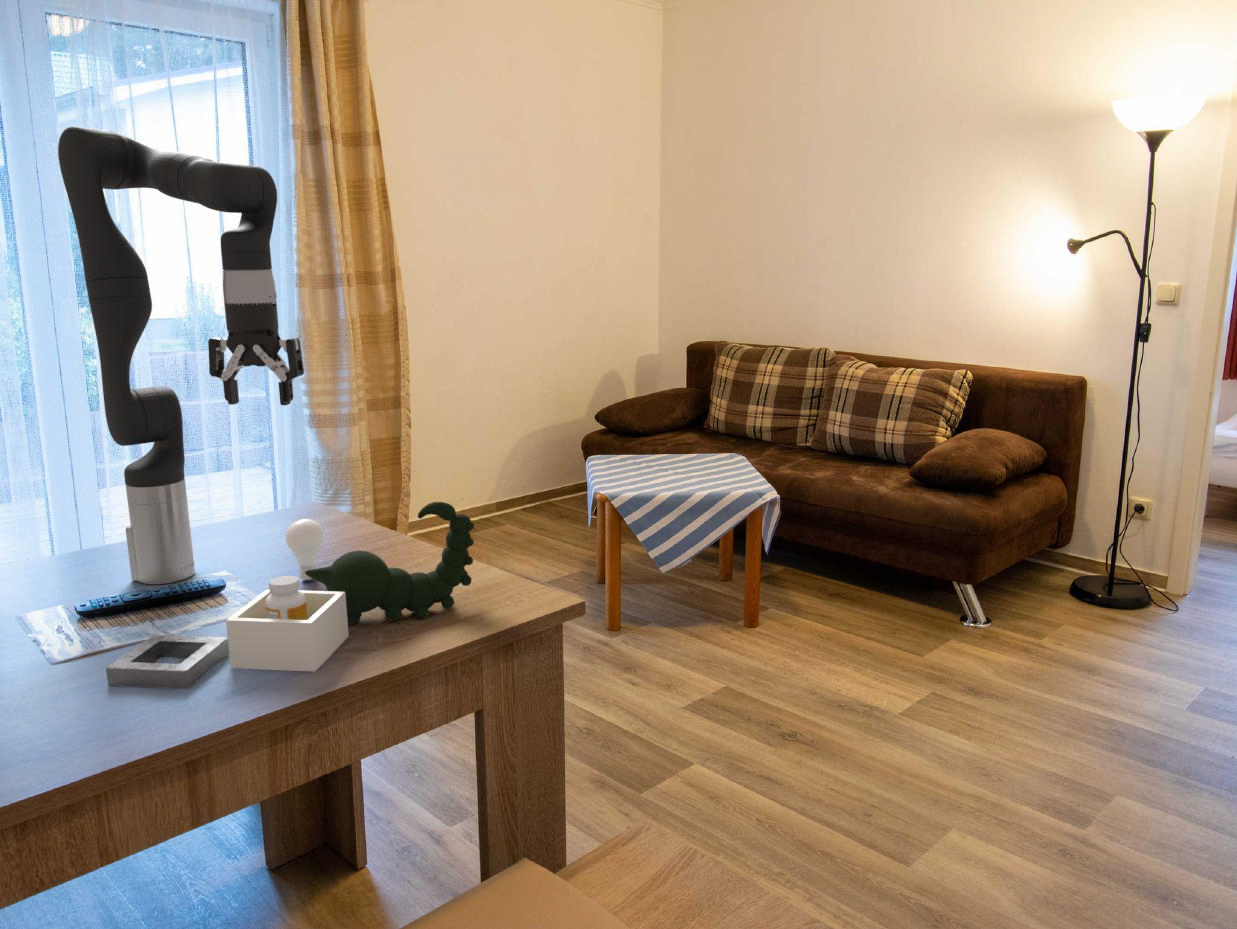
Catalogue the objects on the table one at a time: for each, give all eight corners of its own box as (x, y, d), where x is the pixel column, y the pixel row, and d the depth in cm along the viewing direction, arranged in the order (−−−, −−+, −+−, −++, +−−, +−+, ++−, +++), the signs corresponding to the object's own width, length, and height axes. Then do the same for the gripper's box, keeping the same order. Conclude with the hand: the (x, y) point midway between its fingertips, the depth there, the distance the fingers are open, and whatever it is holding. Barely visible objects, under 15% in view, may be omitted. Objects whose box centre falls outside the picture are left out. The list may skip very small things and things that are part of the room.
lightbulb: (333, 574, 167) (329, 514, 165) (319, 587, 161) (314, 525, 158) (299, 573, 168) (294, 513, 165) (283, 586, 161) (277, 524, 159)
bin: (230, 668, 130) (225, 620, 128) (270, 633, 141) (266, 589, 140) (315, 671, 129) (311, 623, 127) (348, 636, 140) (345, 591, 139)
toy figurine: (461, 606, 157) (302, 614, 148) (467, 494, 153) (304, 495, 144) (474, 626, 148) (305, 636, 139) (480, 509, 145) (308, 511, 135)
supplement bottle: (311, 636, 138) (306, 572, 136) (307, 651, 133) (301, 585, 131) (272, 639, 137) (266, 575, 135) (266, 654, 132) (260, 588, 130)
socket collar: (108, 685, 125) (106, 668, 124) (156, 651, 136) (154, 634, 135) (187, 688, 124) (185, 671, 123) (229, 654, 134) (228, 637, 134)
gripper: (193, 301, 143) (204, 407, 147) (284, 301, 142) (293, 408, 145) (218, 298, 150) (228, 400, 154) (305, 298, 149) (313, 401, 152)
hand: (259, 404), depth 149 cm, fingers open, 8 cm apart
